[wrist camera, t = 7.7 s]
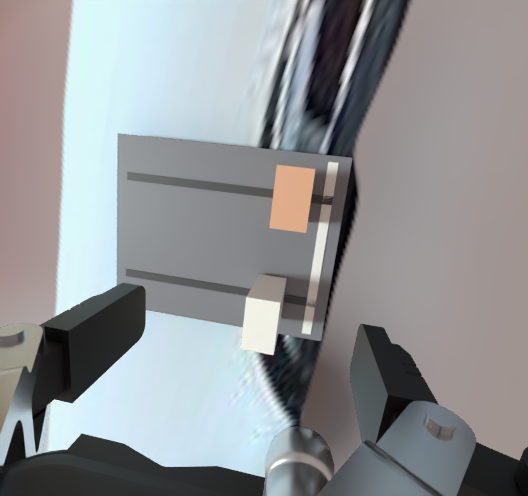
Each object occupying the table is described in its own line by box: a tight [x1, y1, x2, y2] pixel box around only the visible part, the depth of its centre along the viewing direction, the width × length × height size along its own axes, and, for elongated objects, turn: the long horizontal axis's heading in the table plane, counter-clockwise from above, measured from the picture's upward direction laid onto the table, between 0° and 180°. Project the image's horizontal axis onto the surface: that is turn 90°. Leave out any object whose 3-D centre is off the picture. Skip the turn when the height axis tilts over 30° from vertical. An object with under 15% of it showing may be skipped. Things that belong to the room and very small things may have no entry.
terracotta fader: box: [269, 165, 315, 233], centre depth 21 cm, size 2×4×6 cm, turn 173°
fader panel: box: [117, 134, 352, 341], centre depth 27 cm, size 20×16×2 cm
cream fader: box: [241, 274, 287, 355], centre depth 24 cm, size 2×4×6 cm, turn 173°
